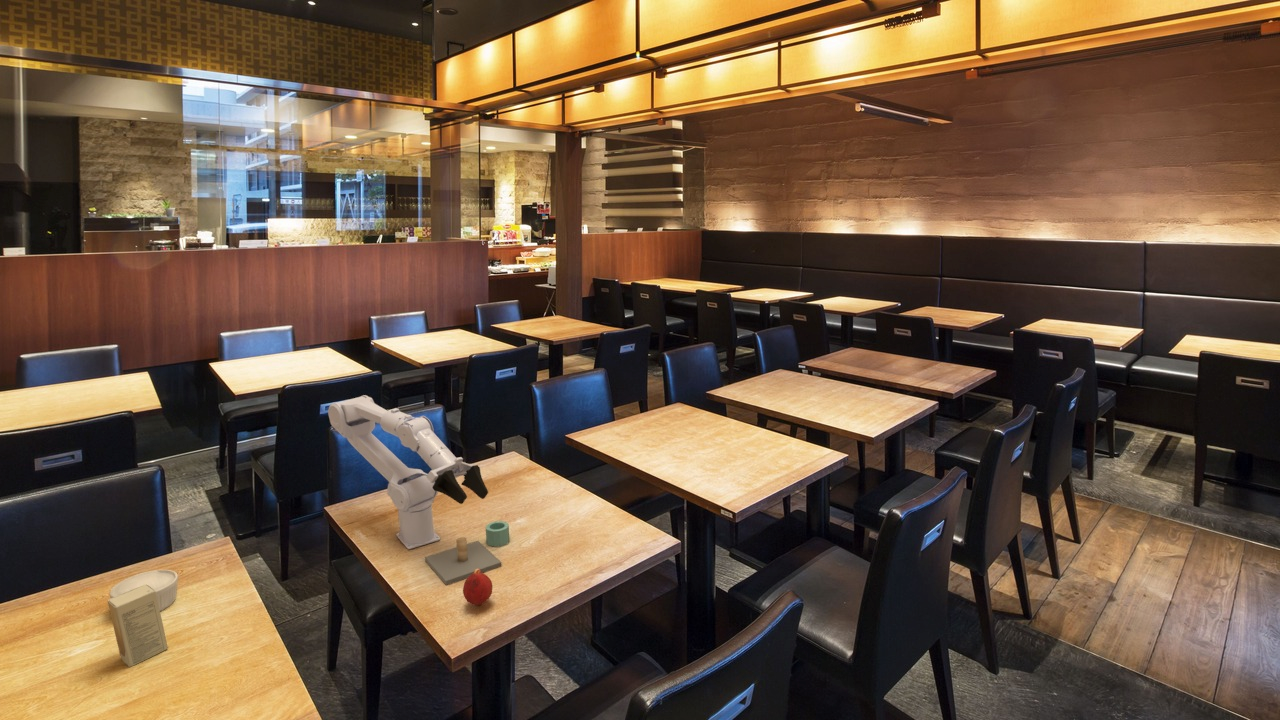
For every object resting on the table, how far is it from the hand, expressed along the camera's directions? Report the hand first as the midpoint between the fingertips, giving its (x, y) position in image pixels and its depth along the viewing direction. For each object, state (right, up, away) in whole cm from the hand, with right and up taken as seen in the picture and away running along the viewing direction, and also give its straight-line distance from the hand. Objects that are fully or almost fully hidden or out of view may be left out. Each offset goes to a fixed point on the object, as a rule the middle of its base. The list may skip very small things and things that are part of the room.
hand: (475, 498), depth 148 cm
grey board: (-4, -16, +3) cm, 16 cm away
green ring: (+2, -13, +14) cm, 19 cm away
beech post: (-4, -16, +3) cm, 16 cm away
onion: (+4, -19, -13) cm, 24 cm away
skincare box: (-54, -23, -27) cm, 65 cm away
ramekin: (-64, -20, -12) cm, 68 cm away
